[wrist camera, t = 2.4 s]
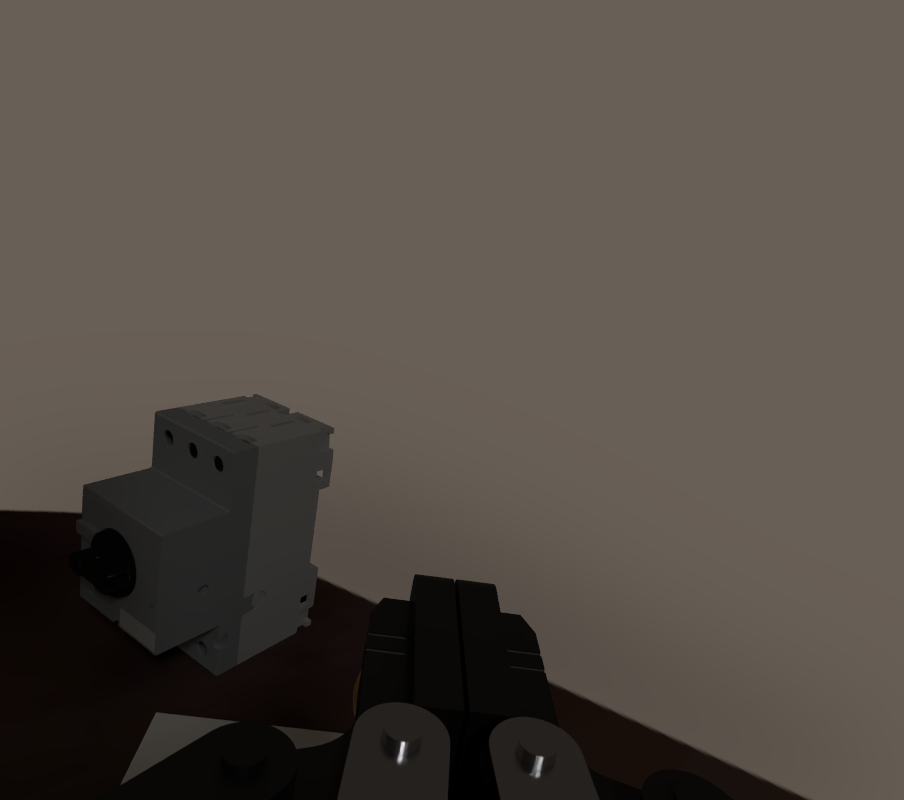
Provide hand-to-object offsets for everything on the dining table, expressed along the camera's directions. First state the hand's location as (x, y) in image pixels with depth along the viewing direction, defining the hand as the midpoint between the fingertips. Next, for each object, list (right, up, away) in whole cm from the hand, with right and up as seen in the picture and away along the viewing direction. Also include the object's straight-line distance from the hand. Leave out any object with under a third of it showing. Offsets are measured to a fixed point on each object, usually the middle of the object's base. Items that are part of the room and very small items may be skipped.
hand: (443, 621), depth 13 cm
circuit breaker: (-17, -12, +34) cm, 40 cm away
